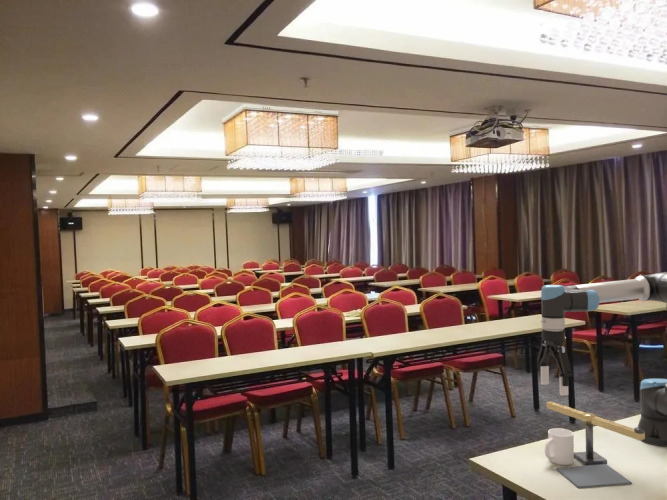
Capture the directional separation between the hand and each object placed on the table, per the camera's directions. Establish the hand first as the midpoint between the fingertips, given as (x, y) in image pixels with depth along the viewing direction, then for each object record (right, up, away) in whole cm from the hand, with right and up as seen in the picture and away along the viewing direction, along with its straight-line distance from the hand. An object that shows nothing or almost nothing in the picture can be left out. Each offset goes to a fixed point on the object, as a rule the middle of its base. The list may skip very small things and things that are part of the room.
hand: (554, 389), depth 194 cm
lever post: (+13, -25, +1) cm, 28 cm away
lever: (+13, -12, -1) cm, 17 cm away
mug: (+1, -26, +1) cm, 26 cm away
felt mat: (+8, -26, -12) cm, 29 cm away
